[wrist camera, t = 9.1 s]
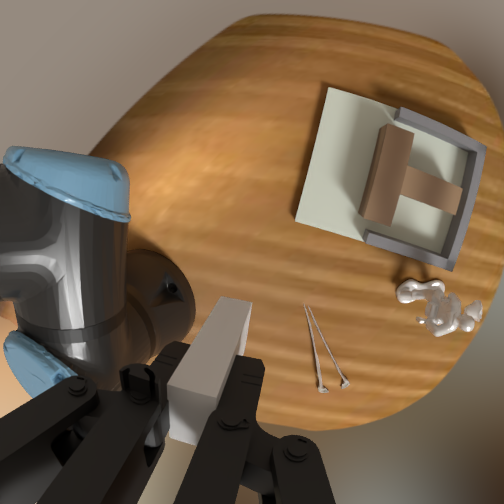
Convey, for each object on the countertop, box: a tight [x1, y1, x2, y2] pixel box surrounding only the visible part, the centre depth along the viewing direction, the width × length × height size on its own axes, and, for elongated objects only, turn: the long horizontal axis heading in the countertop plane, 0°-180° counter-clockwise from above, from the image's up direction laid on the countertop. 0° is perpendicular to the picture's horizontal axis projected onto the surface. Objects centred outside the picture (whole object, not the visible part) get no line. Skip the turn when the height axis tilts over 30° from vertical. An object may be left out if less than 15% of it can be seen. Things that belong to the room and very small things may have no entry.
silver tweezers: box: [304, 305, 350, 393], centre depth 39 cm, size 18×5×2 cm, turn 23°
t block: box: [358, 123, 463, 227], centre depth 28 cm, size 10×10×4 cm
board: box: [295, 87, 487, 272], centre depth 30 cm, size 20×16×3 cm
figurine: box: [396, 279, 482, 337], centre depth 28 cm, size 5×9×12 cm, turn 105°
